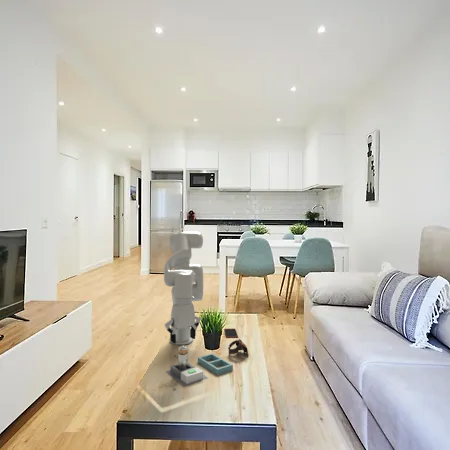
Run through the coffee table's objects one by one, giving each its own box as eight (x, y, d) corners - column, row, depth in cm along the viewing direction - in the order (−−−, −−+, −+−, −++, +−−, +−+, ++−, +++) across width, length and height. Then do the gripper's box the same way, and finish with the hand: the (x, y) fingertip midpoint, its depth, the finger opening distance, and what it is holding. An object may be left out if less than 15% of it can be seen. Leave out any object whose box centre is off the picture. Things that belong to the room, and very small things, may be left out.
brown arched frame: (250, 360, 171) (242, 346, 169) (232, 366, 173) (225, 353, 171) (250, 344, 183) (242, 332, 181) (233, 351, 184) (226, 339, 183)
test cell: (176, 371, 154) (176, 345, 153) (184, 369, 156) (184, 343, 156) (181, 375, 150) (181, 348, 150) (189, 372, 153) (189, 346, 153)
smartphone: (226, 337, 200) (223, 328, 215) (225, 338, 200) (223, 329, 215) (238, 336, 200) (235, 328, 215) (238, 338, 200) (235, 329, 215)
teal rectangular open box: (197, 364, 164) (197, 357, 164) (212, 360, 169) (212, 353, 169) (217, 377, 151) (217, 369, 151) (232, 372, 156) (232, 364, 156)
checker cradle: (165, 374, 154) (165, 364, 154) (188, 367, 161) (188, 357, 161) (183, 389, 141) (183, 377, 141) (208, 380, 148) (208, 370, 148)
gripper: (195, 297, 160) (195, 334, 161) (161, 302, 150) (161, 342, 150) (204, 300, 154) (204, 338, 155) (169, 305, 144) (169, 347, 144)
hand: (183, 340), depth 152 cm, fingers open, 9 cm apart
